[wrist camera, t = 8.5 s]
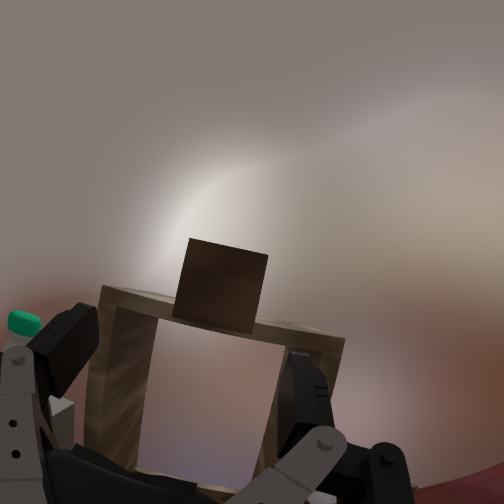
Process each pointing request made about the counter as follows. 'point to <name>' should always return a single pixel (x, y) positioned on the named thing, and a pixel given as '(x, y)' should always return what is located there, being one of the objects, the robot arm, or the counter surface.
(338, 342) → the wooden open box
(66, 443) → the riser block
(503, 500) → the counter surface
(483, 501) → the counter surface
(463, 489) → the counter surface
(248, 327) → the batten
